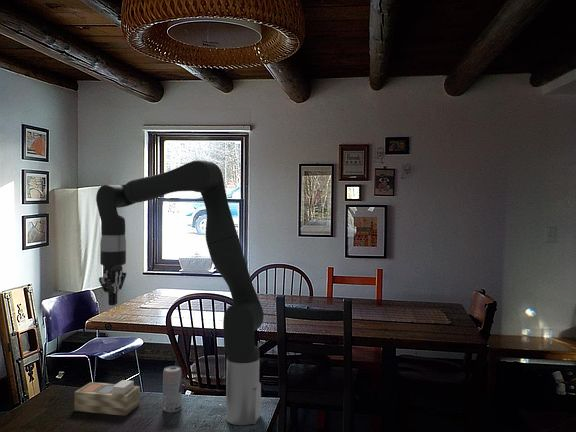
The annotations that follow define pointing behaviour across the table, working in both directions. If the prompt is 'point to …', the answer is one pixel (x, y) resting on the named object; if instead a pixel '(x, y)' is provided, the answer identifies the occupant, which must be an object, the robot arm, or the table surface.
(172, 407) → the energy drink
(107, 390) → the slate key
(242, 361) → the robot arm
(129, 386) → the ivory key
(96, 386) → the rust key
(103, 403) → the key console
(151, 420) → the table surface
